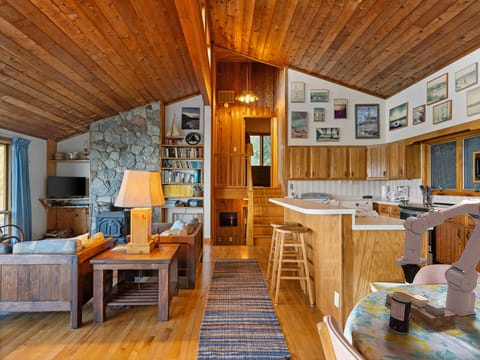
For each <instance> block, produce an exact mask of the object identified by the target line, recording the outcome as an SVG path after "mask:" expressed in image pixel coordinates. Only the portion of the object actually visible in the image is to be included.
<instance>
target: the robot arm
mask: <svg viewBox="0 0 480 360" xmlns="http://www.w3.org/2000/svg"><path fill="white" fill-rule="evenodd" d="M463 214H467V215H468V216H469V217H470V218H471V219H472V220H473V221H474V223H475V227H474V229H473V231H472V232H471V235H470V237H469V239H468V241H467V243H466V244H465V247H464V249H463V251H462V253H461V255H460V256H459V257H460V258H459V259H458V261H456V262H455V261H454V262H452V263H451V265H450V266H449V267H448V268H447V269H446V270H445V272H444V278H445V280H446V282H447V283H446V284H447V289H446V297H445V298H446V300H445V304H440V305H441V306H443V307H445V309H446V310H448V311H450V312H452V313H454V314H456V316H459V317H463V316H471V315H477V312H476V311H475V307H476V306H475V305H476V299H477V298H476V297H477V296H476V293H475V289H476V288H477V286H478V278H479V276H480V275H479V274H478V271H477V270H476V267H477V266H478V263H479V262H480V199H479V198H475V197H474V198H473V197H470V198H467V199H463V200H461V201H460V202H459V203H456V204H453V205H451V206H448V207H446V208H444V209H442V210H437V209H432V208H431V209H428V211H427V212H424V213H421V214H416V216H409V217H407V218H406V219H405V221H404V222H403V223H402V224H403V228H404V229H405V234H404V244H403V253H402V255H401V256H400V258H396V259H394V265H395V266H398V267H401V268H402V272H403V275H404V280H405V283H406V284H407V283H408V284H409V285H410V284H413V283H414V281H415V279H416V276H417V274H418V273H419V271H421V269H422V266H421V265H427V264H428V259H426V258H424V257H421V256H422V255H421V254H422V244H423V235H424V234H425V233H426V232H427V231H428V229H431V228H433V227H434V228H435V227H436V226H439V225H442V224H444V222H445V221H446V219H451V218H454V217H457V216H460V215H463Z"/></svg>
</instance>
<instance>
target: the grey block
mask: <svg viewBox="0 0 480 360" xmlns="http://www.w3.org/2000/svg"><path fill="white" fill-rule="evenodd" d="M429 302H430V303H426V308H425V310H426V311H428V312H430V313H432V314H434V315H436V316H438V315H444V310H445V307H443V306H441V305H442V304H439V303H437V302H434V301H429Z"/></svg>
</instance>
